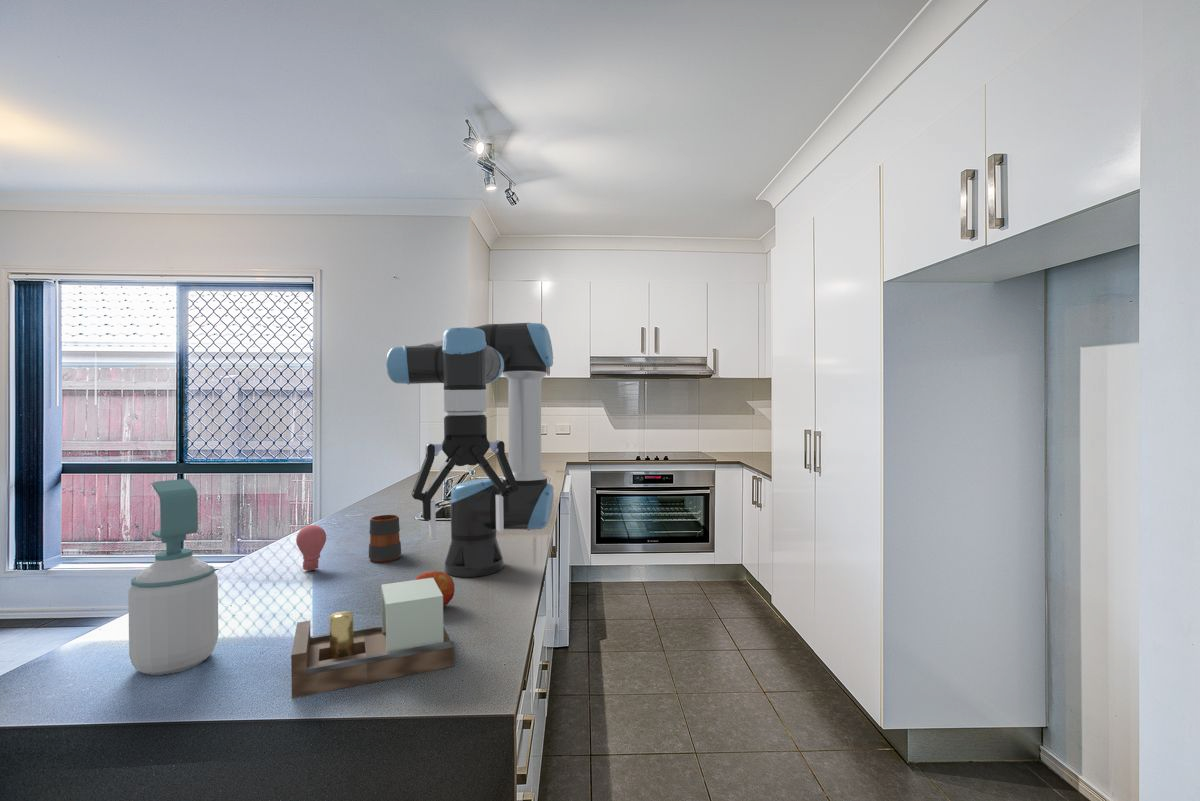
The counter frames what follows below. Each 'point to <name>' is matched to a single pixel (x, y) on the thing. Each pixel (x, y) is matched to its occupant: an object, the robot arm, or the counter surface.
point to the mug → (384, 538)
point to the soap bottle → (173, 593)
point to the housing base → (358, 660)
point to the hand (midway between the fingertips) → (466, 534)
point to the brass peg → (341, 634)
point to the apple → (441, 584)
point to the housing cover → (412, 614)
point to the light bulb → (311, 545)
